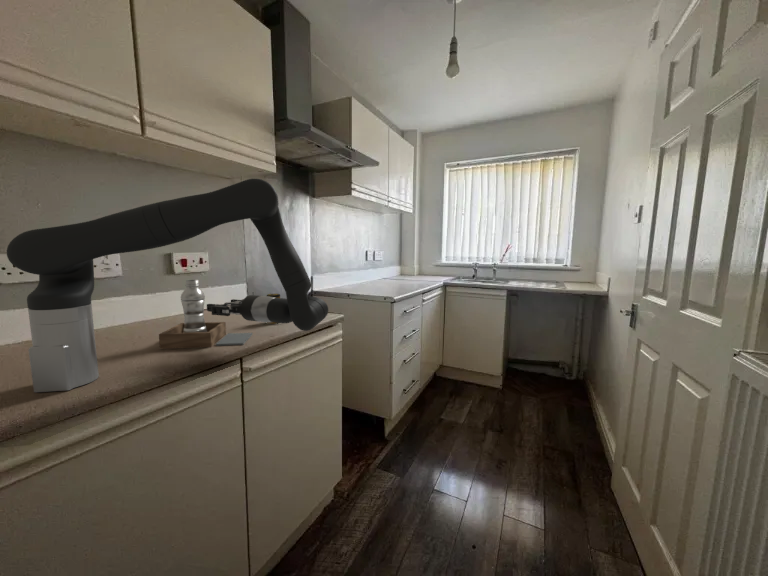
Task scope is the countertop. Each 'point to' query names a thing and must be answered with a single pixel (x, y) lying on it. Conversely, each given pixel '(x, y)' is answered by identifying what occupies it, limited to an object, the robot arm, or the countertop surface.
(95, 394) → the countertop surface
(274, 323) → the condiment
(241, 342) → the grey mat
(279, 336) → the countertop surface
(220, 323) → the walnut frame
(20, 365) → the countertop surface
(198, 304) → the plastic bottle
